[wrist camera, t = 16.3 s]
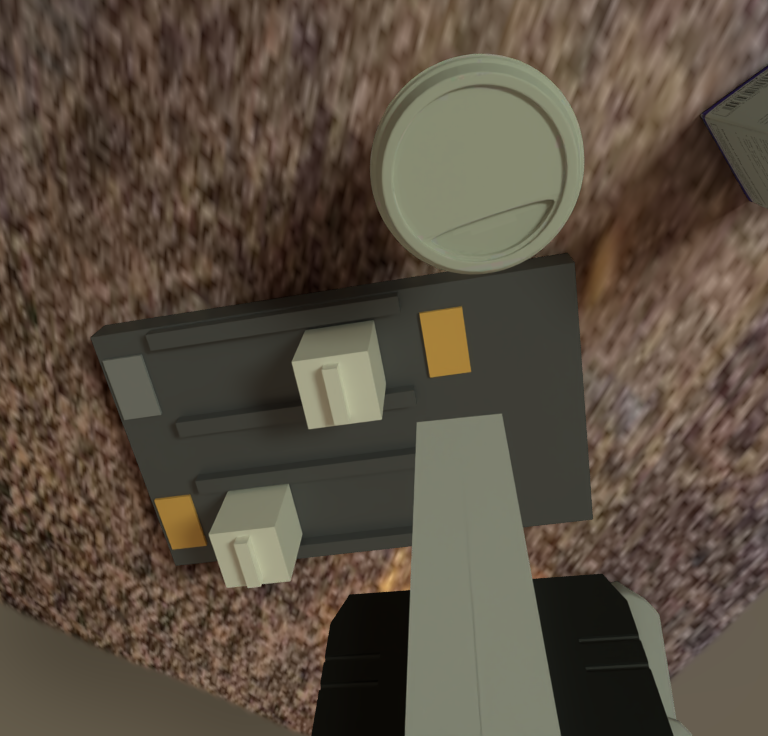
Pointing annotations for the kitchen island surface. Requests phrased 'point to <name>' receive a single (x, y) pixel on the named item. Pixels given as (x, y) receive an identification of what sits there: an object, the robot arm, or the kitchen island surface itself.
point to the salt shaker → (653, 651)
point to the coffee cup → (477, 164)
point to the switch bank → (365, 439)
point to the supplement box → (744, 134)
